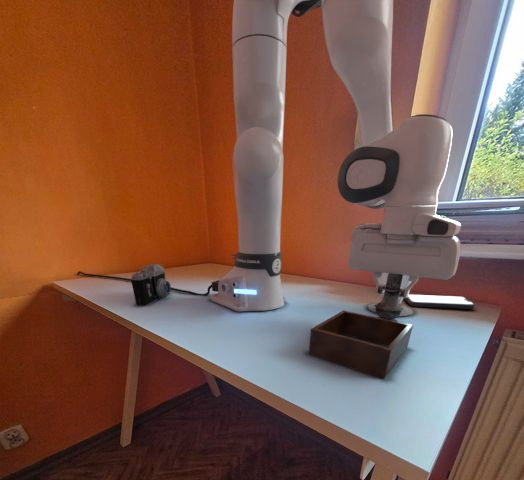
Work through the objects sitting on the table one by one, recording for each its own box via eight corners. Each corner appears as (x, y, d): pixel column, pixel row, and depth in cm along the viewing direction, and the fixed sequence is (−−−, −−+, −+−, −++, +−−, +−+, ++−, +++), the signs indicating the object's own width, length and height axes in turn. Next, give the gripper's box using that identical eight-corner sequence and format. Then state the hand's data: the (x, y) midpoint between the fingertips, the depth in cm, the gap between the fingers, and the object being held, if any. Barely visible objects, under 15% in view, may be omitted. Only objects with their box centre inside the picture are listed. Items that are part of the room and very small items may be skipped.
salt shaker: (382, 327, 58) (394, 270, 52) (366, 318, 63) (375, 265, 57) (406, 325, 59) (420, 268, 54) (388, 316, 64) (399, 263, 59)
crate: (308, 353, 50) (310, 328, 48) (340, 331, 60) (343, 310, 57) (384, 379, 43) (391, 350, 40) (406, 349, 52) (413, 324, 50)
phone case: (410, 307, 76) (475, 310, 73) (411, 301, 76) (477, 304, 72) (403, 299, 84) (462, 301, 81) (404, 293, 83) (463, 296, 80)
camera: (155, 307, 76) (149, 270, 71) (133, 305, 77) (125, 269, 72) (178, 293, 89) (174, 261, 84) (159, 292, 90) (153, 261, 85)
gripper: (347, 223, 56) (339, 290, 62) (468, 225, 44) (443, 307, 50) (359, 222, 60) (350, 285, 66) (471, 224, 48) (448, 299, 55)
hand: (391, 295), depth 58 cm, fingers closed on salt shaker, 3 cm apart
